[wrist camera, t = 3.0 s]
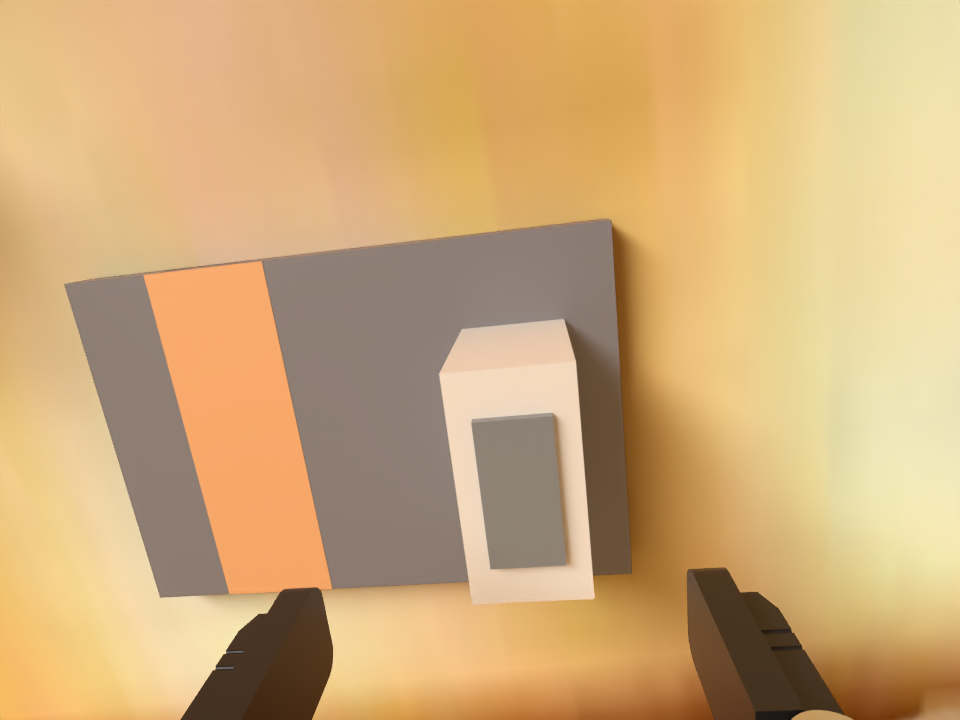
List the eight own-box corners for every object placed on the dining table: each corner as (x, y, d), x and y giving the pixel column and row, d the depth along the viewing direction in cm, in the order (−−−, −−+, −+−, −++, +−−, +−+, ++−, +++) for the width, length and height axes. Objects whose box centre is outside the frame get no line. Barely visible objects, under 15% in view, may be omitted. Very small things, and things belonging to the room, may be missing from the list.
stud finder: (564, 319, 22) (576, 364, 16) (579, 504, 25) (595, 605, 19) (461, 328, 23) (437, 376, 17) (485, 510, 25) (471, 610, 19)
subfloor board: (606, 218, 23) (611, 220, 21) (626, 553, 27) (632, 573, 25) (90, 279, 25) (64, 284, 24) (178, 577, 29) (159, 597, 28)
